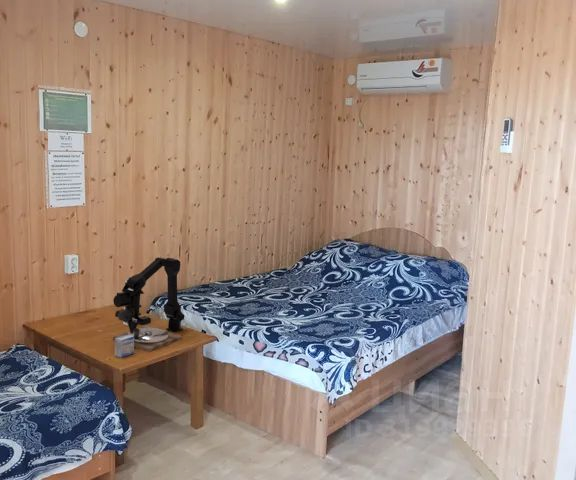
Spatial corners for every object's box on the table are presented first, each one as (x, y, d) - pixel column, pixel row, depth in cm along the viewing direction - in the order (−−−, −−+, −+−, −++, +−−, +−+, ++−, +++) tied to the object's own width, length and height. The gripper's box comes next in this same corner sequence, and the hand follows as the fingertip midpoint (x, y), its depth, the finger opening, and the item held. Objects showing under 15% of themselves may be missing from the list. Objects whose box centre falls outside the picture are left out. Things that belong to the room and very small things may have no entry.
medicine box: (120, 358, 263) (121, 340, 262) (114, 355, 266) (114, 337, 264) (133, 353, 270) (134, 336, 269) (127, 351, 272) (127, 333, 271)
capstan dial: (146, 326, 303) (147, 316, 302) (176, 335, 294) (177, 324, 292) (119, 336, 285) (119, 325, 284) (149, 346, 276) (150, 334, 275)
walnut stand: (147, 327, 306) (147, 323, 305) (181, 338, 294) (182, 334, 294) (113, 339, 285) (113, 334, 285) (148, 351, 274) (149, 346, 273)
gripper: (107, 302, 277) (105, 332, 280) (136, 311, 269) (134, 342, 271) (124, 297, 287) (122, 327, 290) (152, 306, 278) (150, 336, 281)
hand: (131, 333), depth 283 cm, fingers closed
